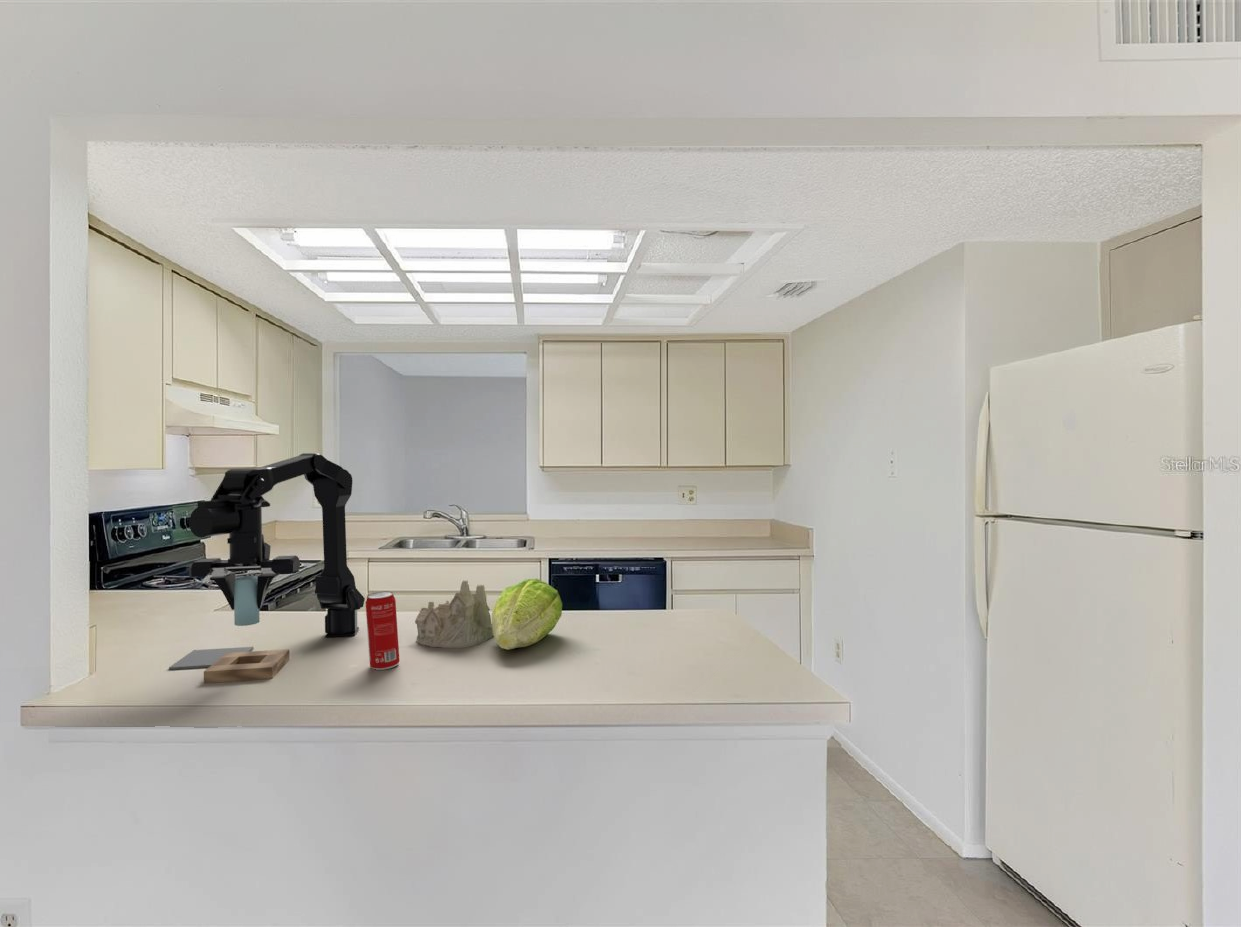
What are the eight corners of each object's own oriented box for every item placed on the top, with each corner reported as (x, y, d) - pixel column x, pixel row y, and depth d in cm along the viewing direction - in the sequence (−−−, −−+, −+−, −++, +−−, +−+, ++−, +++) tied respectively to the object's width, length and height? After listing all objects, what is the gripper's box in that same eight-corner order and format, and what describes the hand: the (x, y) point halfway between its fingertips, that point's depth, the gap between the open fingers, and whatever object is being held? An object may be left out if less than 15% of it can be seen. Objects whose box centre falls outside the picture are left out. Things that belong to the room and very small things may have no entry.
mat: (253, 648, 149) (253, 646, 149) (234, 665, 138) (234, 663, 138) (193, 652, 147) (193, 650, 147) (168, 669, 135) (168, 667, 135)
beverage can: (405, 663, 139) (404, 591, 139) (384, 673, 133) (383, 597, 133) (381, 660, 141) (380, 589, 141) (360, 669, 135) (359, 595, 134)
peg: (262, 619, 137) (261, 575, 137) (255, 625, 133) (254, 579, 133) (238, 620, 136) (238, 576, 136) (231, 626, 132) (230, 580, 132)
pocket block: (289, 659, 142) (289, 649, 142) (272, 678, 130) (272, 667, 130) (227, 663, 139) (226, 653, 139) (203, 683, 127) (203, 671, 127)
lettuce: (460, 627, 142) (517, 596, 138) (499, 588, 165) (548, 560, 162) (495, 684, 143) (553, 654, 139) (529, 637, 166) (579, 610, 163)
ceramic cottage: (505, 632, 161) (500, 571, 161) (460, 654, 147) (454, 586, 146) (455, 629, 169) (450, 570, 168) (407, 649, 154) (401, 584, 154)
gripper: (305, 525, 144) (306, 597, 144) (209, 528, 140) (211, 602, 140) (291, 531, 133) (292, 610, 133) (187, 534, 129) (188, 615, 130)
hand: (246, 608), depth 134 cm, fingers closed on peg, 4 cm apart
